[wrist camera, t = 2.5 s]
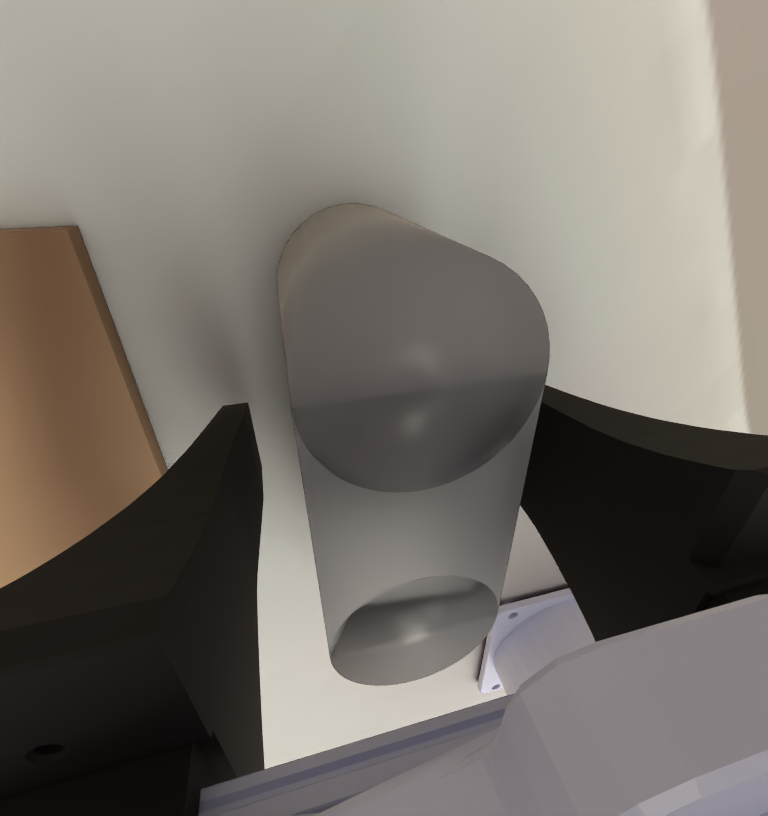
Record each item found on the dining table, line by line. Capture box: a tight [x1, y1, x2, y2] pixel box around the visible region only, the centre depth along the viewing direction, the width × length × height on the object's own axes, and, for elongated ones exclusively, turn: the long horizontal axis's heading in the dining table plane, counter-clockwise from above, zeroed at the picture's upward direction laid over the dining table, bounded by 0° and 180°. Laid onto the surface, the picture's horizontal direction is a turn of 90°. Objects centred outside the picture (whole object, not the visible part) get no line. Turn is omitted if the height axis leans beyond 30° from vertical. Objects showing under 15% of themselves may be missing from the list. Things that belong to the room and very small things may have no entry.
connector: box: [277, 203, 550, 685], centre depth 11 cm, size 4×12×6 cm, turn 2°
